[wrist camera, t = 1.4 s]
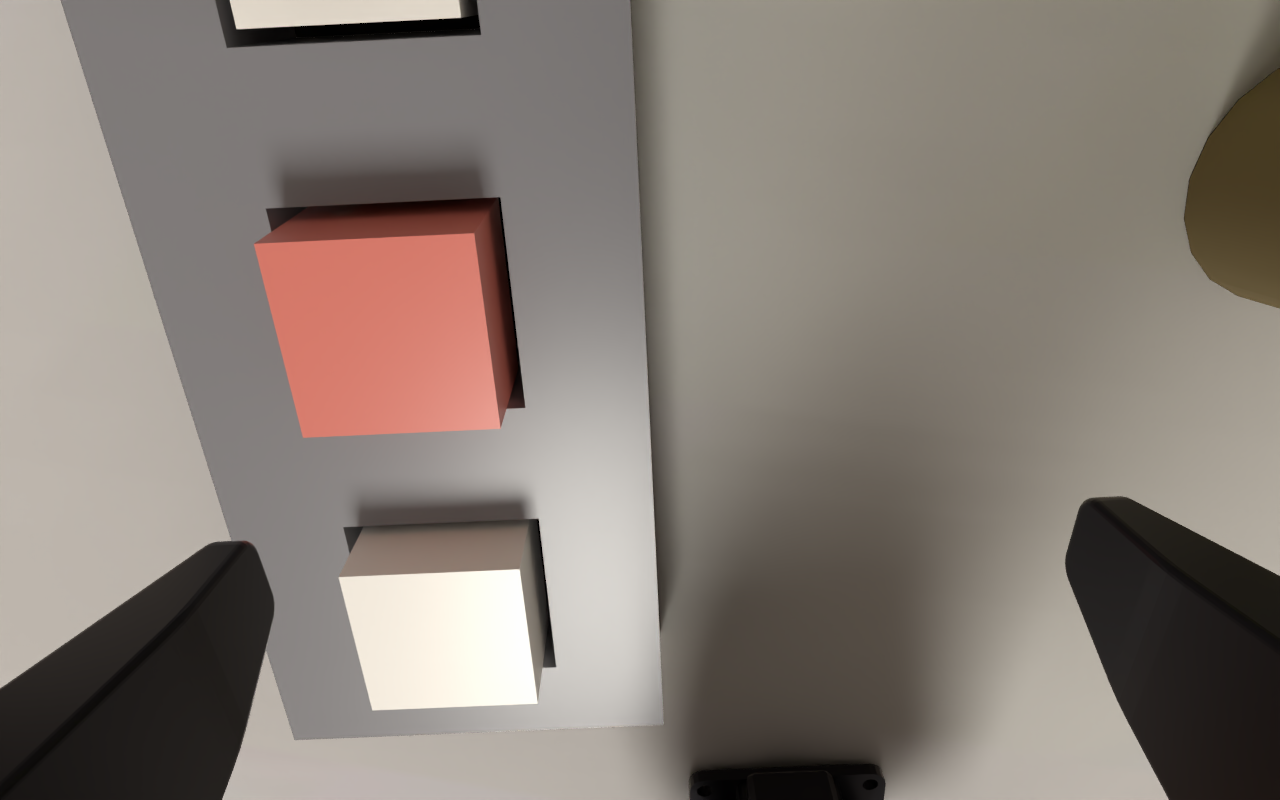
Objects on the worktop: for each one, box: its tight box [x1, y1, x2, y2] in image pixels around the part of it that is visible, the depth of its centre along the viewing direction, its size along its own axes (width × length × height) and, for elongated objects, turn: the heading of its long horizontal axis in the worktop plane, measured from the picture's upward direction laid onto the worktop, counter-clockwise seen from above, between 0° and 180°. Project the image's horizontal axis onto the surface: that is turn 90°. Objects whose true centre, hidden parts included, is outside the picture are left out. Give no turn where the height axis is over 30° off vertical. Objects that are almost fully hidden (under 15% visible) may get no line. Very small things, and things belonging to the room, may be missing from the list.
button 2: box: [339, 519, 549, 711], centre depth 21 cm, size 4×4×3 cm
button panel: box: [61, 0, 664, 740], centre depth 19 cm, size 24×10×4 cm, turn 3°
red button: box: [254, 197, 519, 438], centre depth 17 cm, size 4×4×3 cm
